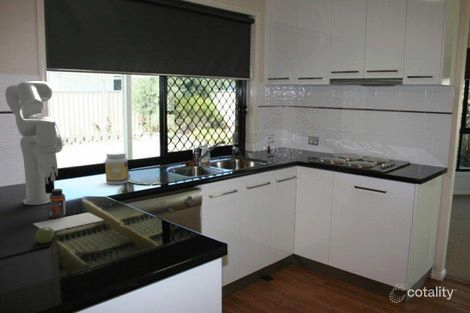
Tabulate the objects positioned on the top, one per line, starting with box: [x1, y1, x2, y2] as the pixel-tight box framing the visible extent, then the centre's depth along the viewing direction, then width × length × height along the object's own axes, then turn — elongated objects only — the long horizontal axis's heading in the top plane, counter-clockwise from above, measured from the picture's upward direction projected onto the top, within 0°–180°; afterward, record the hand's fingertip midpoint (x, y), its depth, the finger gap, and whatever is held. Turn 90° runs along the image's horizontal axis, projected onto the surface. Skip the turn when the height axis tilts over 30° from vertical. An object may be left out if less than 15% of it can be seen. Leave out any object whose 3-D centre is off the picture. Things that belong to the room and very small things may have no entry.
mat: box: [33, 212, 105, 233], centre depth 162 cm, size 14×22×1 cm, turn 133°
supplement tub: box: [104, 151, 129, 185], centre depth 233 cm, size 12×12×17 cm
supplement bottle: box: [49, 188, 67, 219], centre depth 169 cm, size 6×6×11 cm
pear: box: [35, 227, 56, 245], centre depth 142 cm, size 6×5×10 cm
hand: (50, 192), depth 174 cm, fingers closed
